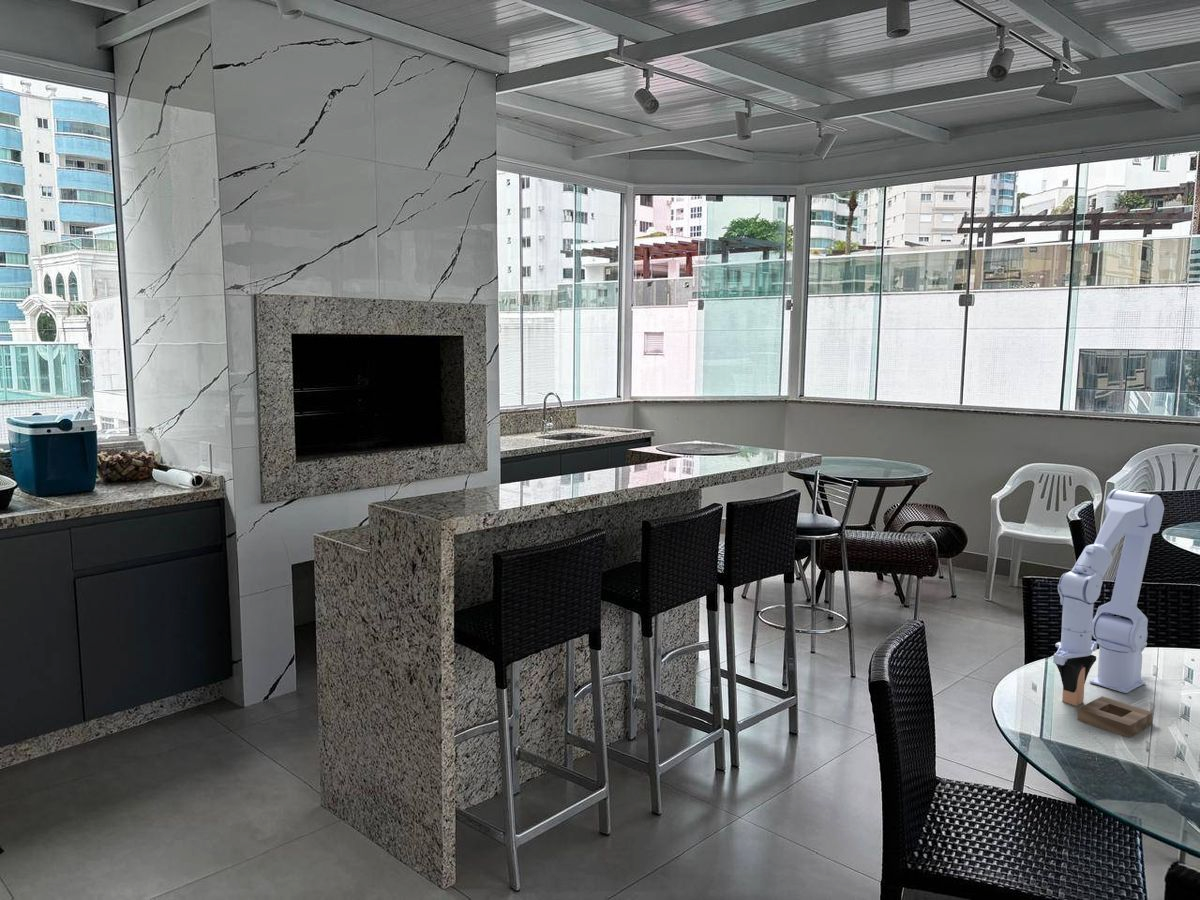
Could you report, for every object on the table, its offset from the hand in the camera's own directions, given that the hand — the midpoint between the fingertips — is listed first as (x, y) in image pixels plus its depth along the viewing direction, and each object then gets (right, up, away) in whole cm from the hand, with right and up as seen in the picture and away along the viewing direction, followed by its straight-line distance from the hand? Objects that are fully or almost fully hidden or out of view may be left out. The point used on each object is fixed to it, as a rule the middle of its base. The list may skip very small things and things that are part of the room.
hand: (1073, 688), depth 189 cm
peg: (0, -3, 0) cm, 3 cm away
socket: (+3, -4, -9) cm, 11 cm away
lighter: (+22, -1, +17) cm, 27 cm away
